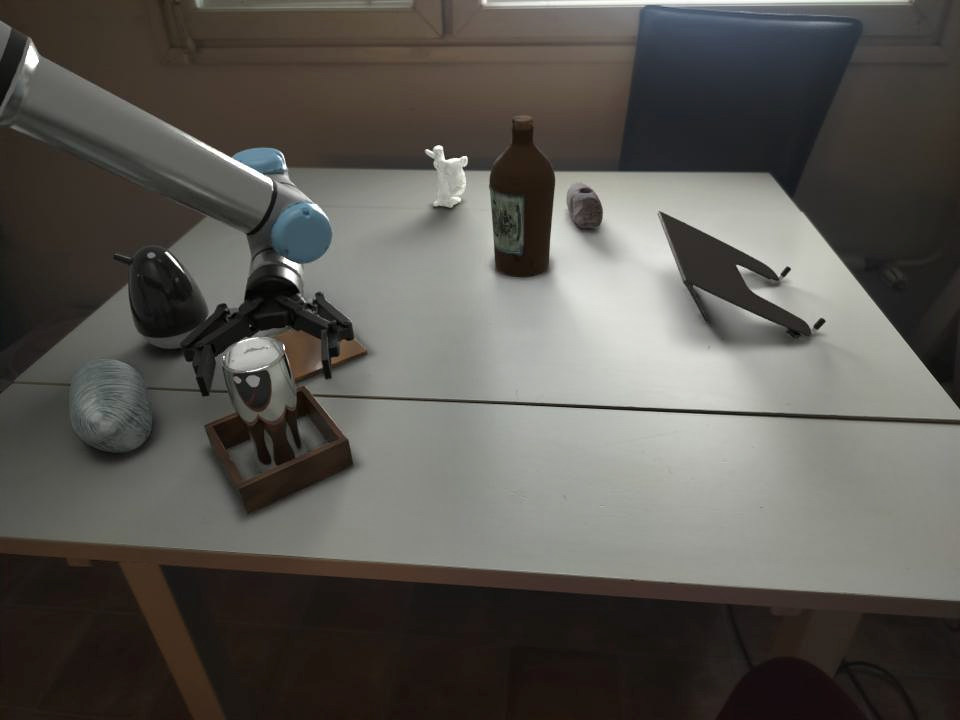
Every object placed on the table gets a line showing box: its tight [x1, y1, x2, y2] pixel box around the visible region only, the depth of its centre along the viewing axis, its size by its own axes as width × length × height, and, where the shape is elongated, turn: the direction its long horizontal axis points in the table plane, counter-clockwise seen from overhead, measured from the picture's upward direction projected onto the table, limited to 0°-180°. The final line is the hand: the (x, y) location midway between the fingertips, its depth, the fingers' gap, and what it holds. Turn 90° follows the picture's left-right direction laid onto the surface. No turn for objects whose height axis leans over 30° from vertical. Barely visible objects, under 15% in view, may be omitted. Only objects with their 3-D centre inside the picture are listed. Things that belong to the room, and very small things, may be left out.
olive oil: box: [488, 114, 556, 278], centre depth 109 cm, size 11×11×25 cm
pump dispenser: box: [112, 244, 210, 350], centre depth 96 cm, size 10×10×15 cm
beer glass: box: [220, 335, 309, 473], centre depth 74 cm, size 7×7×15 cm
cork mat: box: [271, 329, 368, 383], centre depth 97 cm, size 12×12×1 cm
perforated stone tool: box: [565, 181, 604, 230], centre depth 129 cm, size 15×5×7 cm, turn 6°
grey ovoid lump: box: [68, 358, 153, 453], centre depth 82 cm, size 14×10×10 cm
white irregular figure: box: [424, 144, 469, 209], centre depth 136 cm, size 8×7×12 cm
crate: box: [203, 384, 354, 515], centre depth 77 cm, size 13×13×4 cm
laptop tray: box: [657, 210, 827, 340], centre depth 101 cm, size 23×23×9 cm
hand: (265, 378), depth 75 cm, fingers open, 13 cm apart
